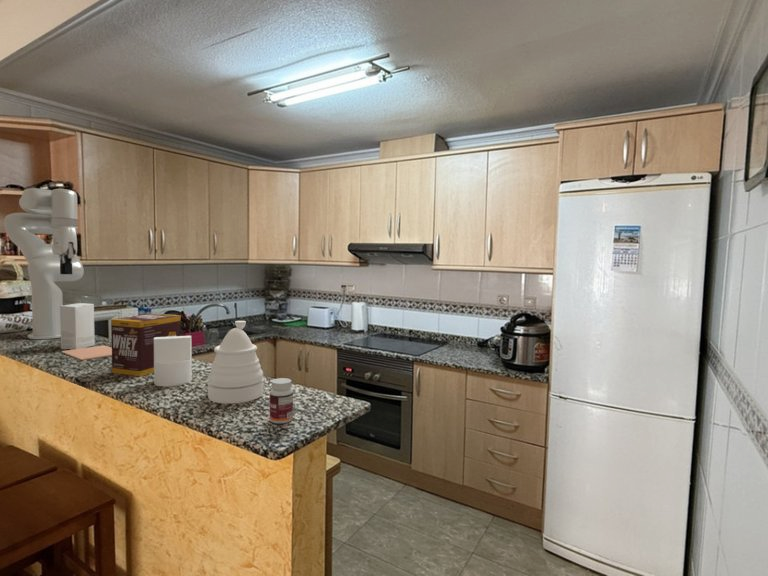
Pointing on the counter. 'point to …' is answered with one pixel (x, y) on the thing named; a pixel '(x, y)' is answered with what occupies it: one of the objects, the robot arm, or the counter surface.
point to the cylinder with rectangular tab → (172, 360)
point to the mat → (90, 352)
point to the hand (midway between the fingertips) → (66, 274)
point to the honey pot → (235, 369)
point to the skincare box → (77, 326)
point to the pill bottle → (281, 401)
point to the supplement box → (139, 341)
